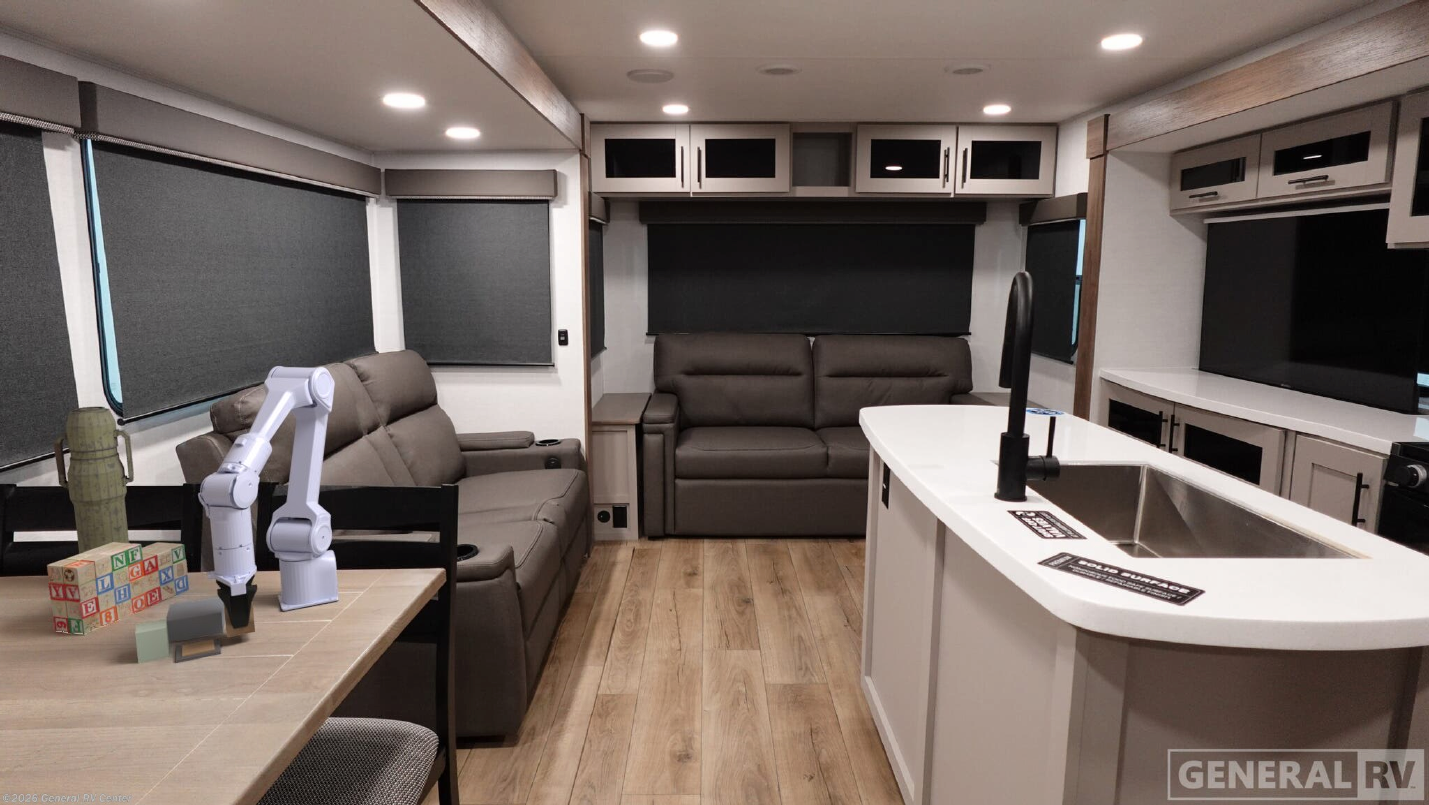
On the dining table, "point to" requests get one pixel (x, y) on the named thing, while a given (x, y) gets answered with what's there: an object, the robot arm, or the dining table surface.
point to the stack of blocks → (114, 583)
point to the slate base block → (195, 619)
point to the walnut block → (239, 631)
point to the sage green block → (152, 640)
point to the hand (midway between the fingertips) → (239, 622)
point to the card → (198, 649)
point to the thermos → (95, 476)
